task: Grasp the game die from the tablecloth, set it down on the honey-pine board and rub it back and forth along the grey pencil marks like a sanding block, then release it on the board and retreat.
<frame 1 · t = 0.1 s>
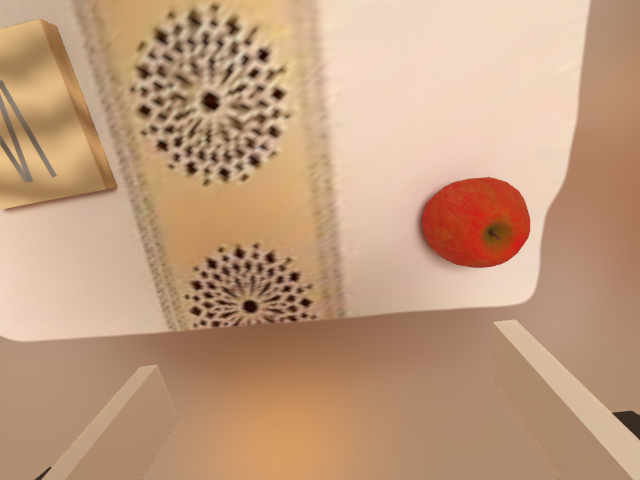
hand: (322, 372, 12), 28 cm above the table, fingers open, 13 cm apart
apple: (457, 214, 38), on the table
board: (29, 125, 37), on the table
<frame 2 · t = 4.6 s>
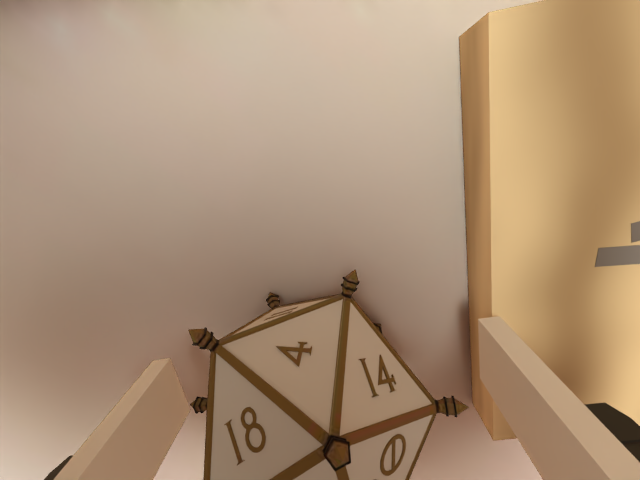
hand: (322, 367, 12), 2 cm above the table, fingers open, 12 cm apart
game die: (316, 332, 14), on the table
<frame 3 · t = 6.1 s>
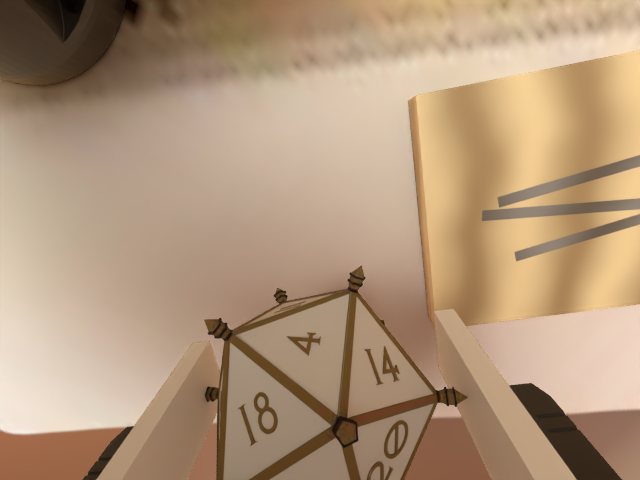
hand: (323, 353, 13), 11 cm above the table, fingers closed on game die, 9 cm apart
board: (550, 197, 21), on the table
game die: (321, 328, 15), point 9 cm above the table, touching gripper
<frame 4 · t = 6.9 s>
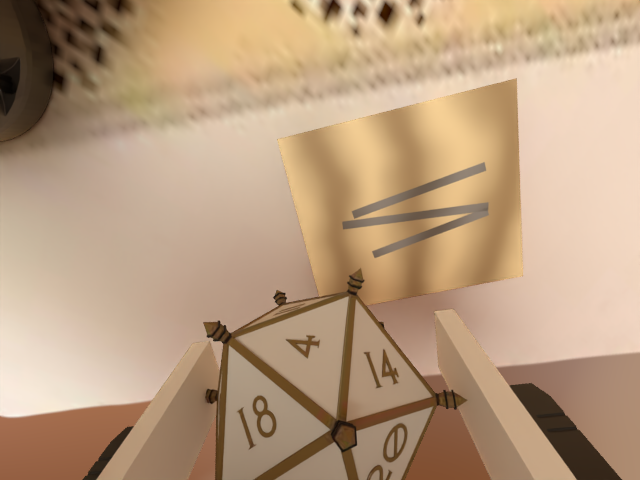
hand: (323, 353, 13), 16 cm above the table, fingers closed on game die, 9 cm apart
board: (401, 206, 27), on the table
game die: (321, 329, 15), point 14 cm above the table, touching gripper
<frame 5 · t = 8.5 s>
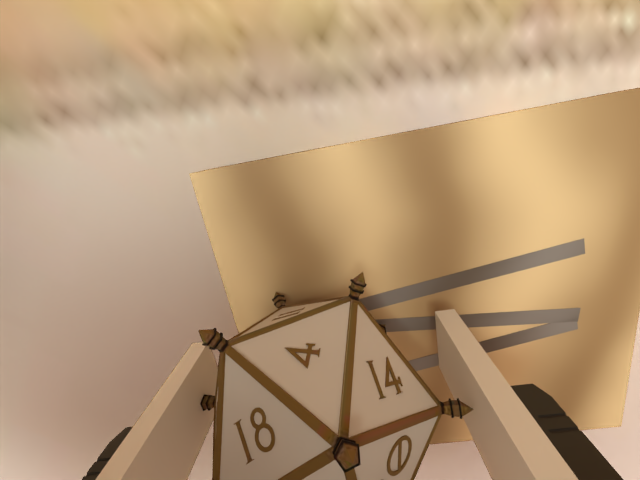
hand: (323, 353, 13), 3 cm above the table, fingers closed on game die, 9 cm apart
board: (417, 293, 16), on the table
game die: (321, 332, 14), point 2 cm above the table, touching board, gripper
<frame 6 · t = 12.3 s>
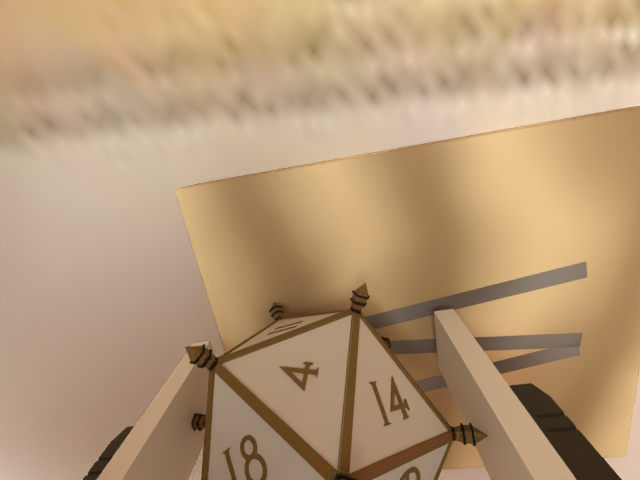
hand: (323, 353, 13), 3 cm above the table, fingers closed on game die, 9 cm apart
board: (413, 313, 15), on the table
game die: (321, 345, 14), point 2 cm above the table, touching gripper
when the fingers open (3 cm above the table, at t = 15.6 s): game die stays where it is, resting on board.
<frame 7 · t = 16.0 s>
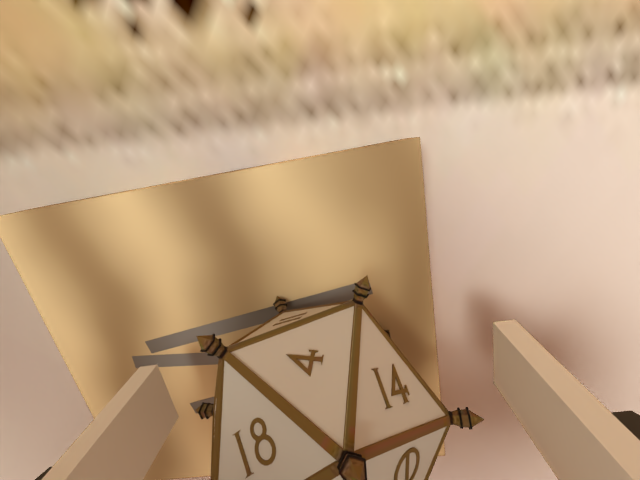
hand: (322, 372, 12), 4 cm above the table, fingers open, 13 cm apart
board: (251, 324, 16), on the table
game die: (323, 337, 14), point 2 cm above the table, touching board
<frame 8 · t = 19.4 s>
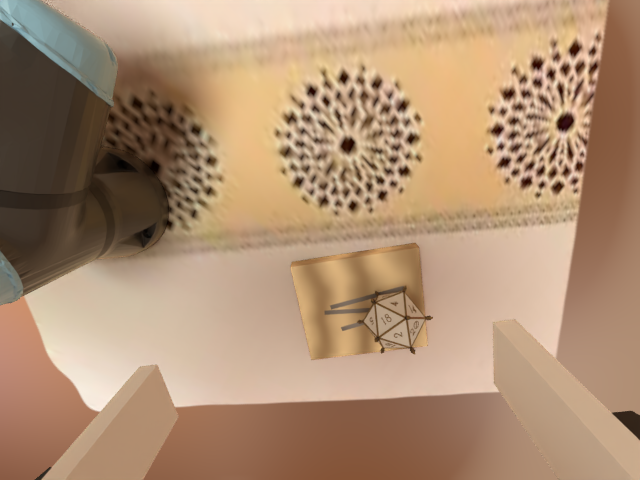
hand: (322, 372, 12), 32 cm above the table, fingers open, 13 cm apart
board: (360, 301, 46), on the table
game die: (388, 304, 44), point 2 cm above the table, touching board
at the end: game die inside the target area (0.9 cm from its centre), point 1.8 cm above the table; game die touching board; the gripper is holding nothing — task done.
